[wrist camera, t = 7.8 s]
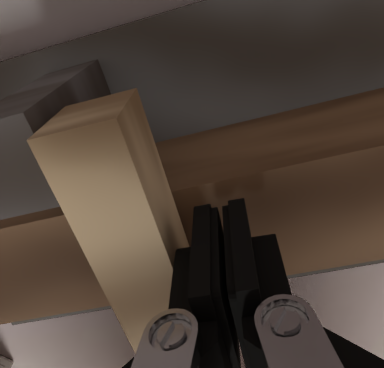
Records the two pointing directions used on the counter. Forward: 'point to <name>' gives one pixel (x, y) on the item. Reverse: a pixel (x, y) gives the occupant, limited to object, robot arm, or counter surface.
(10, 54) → the counter surface
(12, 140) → the wooden gate latch
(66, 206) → the bar
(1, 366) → the skincare box
